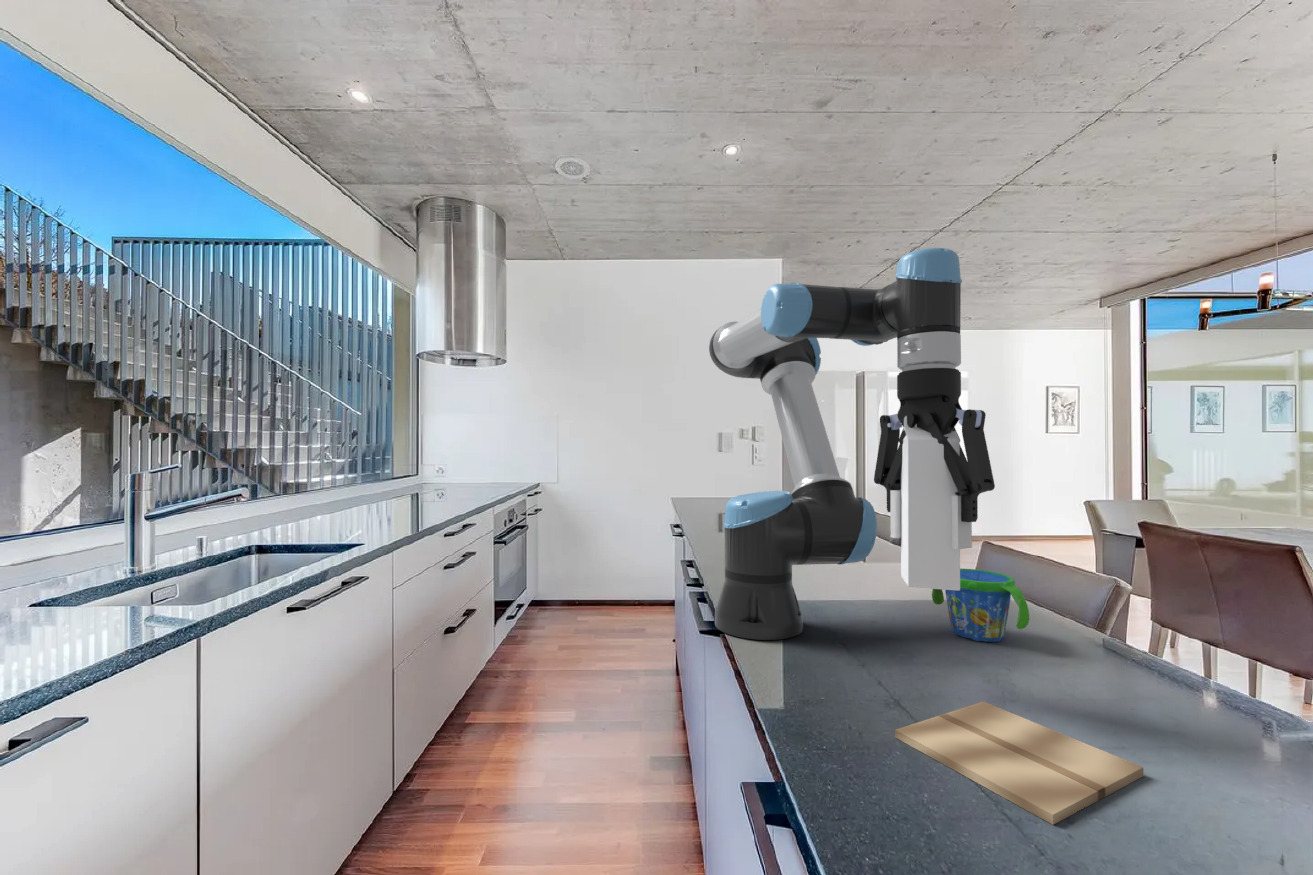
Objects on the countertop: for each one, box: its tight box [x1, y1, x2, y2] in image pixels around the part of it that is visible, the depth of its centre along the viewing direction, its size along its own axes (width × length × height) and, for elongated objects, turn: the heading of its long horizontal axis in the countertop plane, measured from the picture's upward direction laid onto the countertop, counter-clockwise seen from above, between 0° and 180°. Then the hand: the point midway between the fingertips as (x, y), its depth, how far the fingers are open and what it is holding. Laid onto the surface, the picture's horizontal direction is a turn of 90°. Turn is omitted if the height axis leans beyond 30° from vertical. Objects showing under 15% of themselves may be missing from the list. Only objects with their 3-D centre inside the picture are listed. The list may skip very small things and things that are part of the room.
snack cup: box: [931, 567, 1030, 643], centre depth 89 cm, size 16×10×10 cm
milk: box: [900, 416, 961, 591], centre depth 70 cm, size 6×6×22 cm
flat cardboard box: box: [894, 701, 1144, 826], centre depth 53 cm, size 15×15×1 cm
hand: (928, 542), depth 70 cm, fingers closed on milk, 8 cm apart
